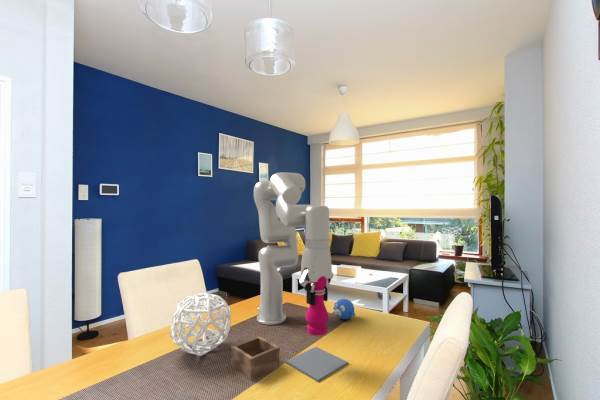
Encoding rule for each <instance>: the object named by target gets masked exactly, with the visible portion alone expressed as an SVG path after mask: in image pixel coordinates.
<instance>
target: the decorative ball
mask: <svg viewBox="0 0 600 400" xmlns="http://www.w3.org/2000/svg"><path fill="white" fill-rule="evenodd" d="M202 307H204V308H203V309H202ZM219 309H220V310H219ZM218 310H219V311H218ZM190 314H193V315H194V317H195V319H193V318H192V316H191V315H190ZM204 314H208V315H207V317H206V319H204V318H203V316H204ZM215 314H216V316H215V317H214V315H215ZM231 314H232V312H231V307H230V306H229V305H228V303H227V301H226V300H225V299H224V298H222V297H221V296H220V295H217V294H212V293H208V292H207V293H206V292H201V293H198V294H195V295H193V296H192V295H189V296H186V297H185V298H183V300H182V301H181V302H179V303H178V304H177V305H176V311H175V313H174V314H173V316H172V319H171V328H170V331H169V335H170V338H171V340H172V342H173V344H175V345H177V346H179V348H180V349H181V350H183V351H184V352H186V353H187V354H190V355H195V356H198V357H202V356H204V355H207V354H208V353H209V352H210V351H212V350H214V349H217V348H218V347H219V346H220V345H221V344H223V343H224V342H225V341H226V339H227V337H228V335H229V333H230V330H231V326H232V324H231V322H232V321H231V316H232V315H231ZM185 318H186V319H185ZM201 322H202V323H203V324H202V323H201ZM183 324H185V325H183ZM210 325H212V326H213V328H214V329H213V328H207V327H208V326H210ZM196 326H198V327H199V328H200V329H198V330H197V329H196ZM188 328H189V330H187V332H186V331H185V330H186V329H188ZM215 329H216V330H215ZM192 336H193V339H194V340H193V341H191V340H190V339H189V338H191V337H192ZM201 337H202V341H199V340H200V339H201ZM207 337H208V339H207ZM190 346H191V347H190Z"/></svg>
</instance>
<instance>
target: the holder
mask: <svg viewBox="0 0 600 400" xmlns="http://www.w3.org/2000/svg"><path fill="white" fill-rule="evenodd" d="M280 348H281V347H280V346H278V345H277V344H275V343H273V342H271V341H269V340H267V339H266V338H263V337H262V336H255V337H254V338H250V339H248V340H245V341H243V342H240V343H237V344H234V345H231V363H230V365H231V367H233V368H234V369H235V370H236V371H237V372H239V373H241V374H242V376H244V377H246V378H247V379H249V380H250V381H253V380H254V379H256V378H260V377H261V376H263V375H265V374H268V373H270V372H271V371H273V370H276V369H278V368H280V366H281V364H280V359H281V358H280V357H281V356H280V355H281V354H280V353H281V352H280V350H281V349H280Z"/></svg>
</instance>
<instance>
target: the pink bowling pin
mask: <svg viewBox="0 0 600 400" xmlns="http://www.w3.org/2000/svg"><path fill="white" fill-rule="evenodd" d="M326 284H327V279H326V277H325V276H322V277H320V278H319V279H318V281H317V282H315V284H314V285H315V287H314V292H315V305H310V304H309V306H308V308H307V311H306V314H305V321H306V323H307V326H306V331H307V333H308V335H311V336H316V337H318V336H319V337H320V336H324V335H326V334H327V332H328V325H327V323H328V322H329V312H328V310H327V307H326V305H325V301H324V298H323V297H324V294H325V288H324V287H325V286H326ZM309 286H310V287H311V283H309Z"/></svg>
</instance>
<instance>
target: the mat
mask: <svg viewBox="0 0 600 400" xmlns="http://www.w3.org/2000/svg"><path fill="white" fill-rule="evenodd" d="M285 364H286V365H288V366H290V367H292V368H293V369H295V370H297V371H298V372H301V373H302V374H304V375H305V376H307V377H308V378H310V379H312V380H314V381H315V382H320V381H322V380H324V379H326V378H327V377H329V376H330V375H332V374H334V373H335V372H337V371H339V370H341V369H342V368H344V367H346V366H347V365H349V361H346V360H345V359H343V358H340V357H339V356H337V355H334V354H332V353H330V352H329V351H326V350H324V349H321V348H320V347H317V346H314V347H312V348H310V349H308V350H306V351H304V352H301V353H300V354H297V355H295V356H294V357H291V358H289V359H287V360H285Z"/></svg>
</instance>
